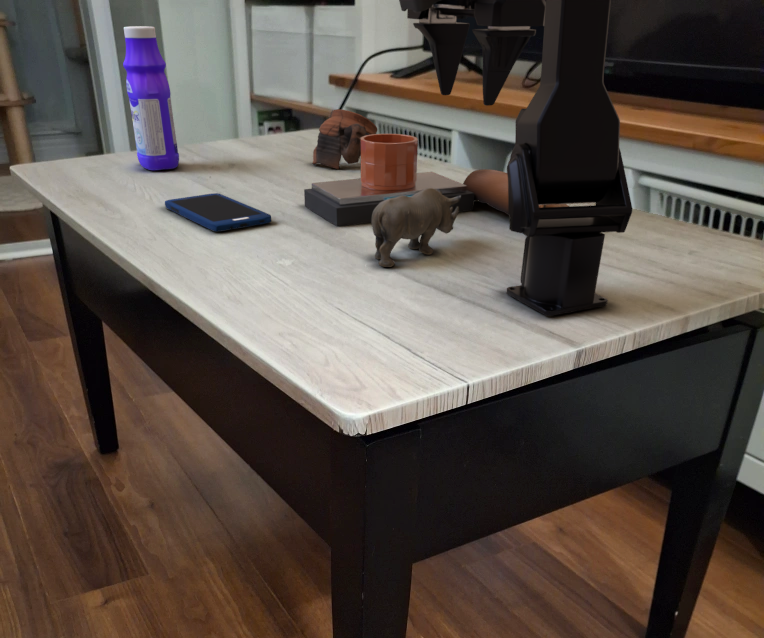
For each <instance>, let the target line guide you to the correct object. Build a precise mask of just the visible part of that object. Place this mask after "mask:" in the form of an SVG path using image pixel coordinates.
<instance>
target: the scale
mask: <svg viewBox="0 0 764 638" xmlns="http://www.w3.org/2000/svg"><path fill="white" fill-rule="evenodd" d="M426 188H433V189H435V190H438V189H440V190H441V192H442V195H444V196H445V197H447V198H454V197H457V196H459V195H461V198H460V201H459V202H457V203H455V204H453V205H451V206H450V208H451V207H453V210H452V213H453V212H454V211H455V209H456V208H457V207H459V211H458V213H461V212H462V213H464V212H471V211H472V212H473V211H474V205H475V204H474V203H475V201H474V193H473V192H470V191H468V190H466V189H467V186H466V185H464V184H463V183H462V182H459V181H457V180H455V179H452V178H449V177H446V176H443V175H441V174H440V173H436V172H433V171H425V172H417V181H416V186H415V187H413V188H410V189H405V190H394V191H386V190H374V189H369V188H366V187H363V186H362V185H361V177H360V178H351V179H340V180H339V179H338V180H330V181H329V180H328V181H320V182H319V181H318V182H311V188H304V189H303V191H304V197H303V198H304V207H305V208H307V209H308V210H310V211H312V212H313V213H314V214H316V215H318V216H319V217H321V218H323V219H324V220H326V221H327V222H329V223H330V224H332V225H333V226H336V227H344V226H345V227H346V226H352V225H363V224H369V223H370V224H372V221H371V219H372V214H373V211H374V209H375V208H376V206H377V205H378V204H379V203H381V202H382V201H384V200H387V199H390V198H395V197H398V196H407V197H411V196H413V195H414V194H416V193H418V192H420V191H422V190H424V189H426Z"/></svg>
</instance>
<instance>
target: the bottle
mask: <svg viewBox="0 0 764 638" xmlns="http://www.w3.org/2000/svg"><path fill="white" fill-rule="evenodd" d="M123 32H124V40H125V55H124V56H125V57H124V61H123V62H122V63H123V64H122V66H123V68H124V70H125V71H126V82H125V83H126V93H127V96H128V100H129V107H130V114H131V119H132V126H133V133H134V140H135V147H136V156H137V160H138V162H139V164H140V166H141V167H142V168H144V169H146V170H149V171H161V170H173V169H176V168H177V167H178V166H179V162H180V153H179V149H178V142H177V141H178V140H177V135H176V129H175V128H176V127H175V122H174V121H175V120H174V113H173V106H172V100H171V88H170V84H169V81H168V78H167V75H166V73H165V69H166V67H167V63H166V61H165V60H164V58H163V57H162V56H163V55H162V54H161V52H160V50H159V49H160V48H159V46H158V41H157V34H156V27H155V26H150V25H149V26H148V25H141V26H140V25H131V26H124V27H123Z"/></svg>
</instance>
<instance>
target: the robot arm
mask: <svg viewBox="0 0 764 638" xmlns="http://www.w3.org/2000/svg"><path fill="white" fill-rule="evenodd" d="M611 1H612V0H398V2H399V5H400V10H401V11H402V12H406V11H407V14H406V15H407V16H406V17H407V18H406V19H409V20H418V22H413V23H412V25H413V27H414V29H417V30H418V31H419V32H420V33H421V34H422V35H423V36H424V37H425V39H426V40H427V42H428V44H429V48H430V52H431V55H432V60H433V65H434V69H435V74H436V78H437V82H438V87H439V91H440V95H442V96H450V95H451V94H452V91H453V88H454V84H455V82H456V79H457V75H458V71H459V67H460V63H461V59H462V55H463V51H464V47H465V44H466V41H467V37H468V33H469V29H470V26H471V25H470V23H469V22H457V20H458V19H459V20H466V19H467V18H474V19H475V22H476V25H477V26H480V27H481V26H482V27H487V28H477V29H476V28H474V29H472V34H474V36H475V38H476V39H477V42H478V43H479V44H480V47H481V49H482V103H483V105H484V106H485V107H487V106H494V104H495V103H496V101H497V99H498V97H499V95H500V93H501V91H502V89H503V87H504V85H505V83H506V82H507V80H508V77H509V75H510V74H511V71H512V70H513V68H514V66H515V64H516V62H517V60H518V59H519V57H520V55H521V54H522V52H523V51H524V48H525V47H526V45H527V43H528V42H529V41H530V38H531V37H535V36H536V34H537V29H533V28H532V29H531V27H543V40H542V55H541V71H540V82H539V86H538V88H537V90H536V92H535V93H534V95H533V97H532V98H531V100H530V101H529V103H528V105H527V107H526V108H521V109H520V110H519V112H518V115H517V116H516V119H515V142H514V147H513V148H512V150H511V153H510V157H509V160H508V162H507V166H506V173H507V175H508V212H509V215H510V216H509V215H508V216H509V227H508V228H509V231H510V232H515V233H519V234H523V235H524V236H525V238H524V247H523V256H522V264H521V273H520V285H519V284H518V285H515V286H508V287H506V293H505V294H506V295H507V296H510V297H511V298H514V299H515V300H517V301H519V302H520V303H522V304H523V305H526V306H528V307H530V308H531V309H533V310H535V311H536V312H539V313H540V314H542V315H544V316H547V317H552V316H558V315H563V314H569V313H570V314H571V313H574V312H575V313H576V312H580V311H586V310H590V309H597V308H602V307H606V306H608V301H609V300H608V298H606V297H605V296H602V295H600V294H598V293H596V289H597V284H598V278H599V272H600V267H601V266H600V265H601V260H602V254H603V249H604V244H605V243H604V242H605V237H606V234H605V233H617V234H618V233H619V234H620V233H621V234H622V233H625V232H626V230H627V227H628V224H629V221H630V219H631V217H632V214H633V204H632V200H631V195H630V191H629V186H628V181H627V176H626V171H625V170H626V169H625V166H624V161H623V157H622V152H621V148H620V138H621V137H620V135H621V119H620V117H619V114H618V112H617V110H616V108H615V106H614V104H613V102H612V99H611V96H610V94H609V92H608V90H607V88H606V85H605V82H604V80H605V79H604V77H605V76H604V75H605V64H606V55H607V45H608V36H609V35H608V34H609V24H610V15H611V14H610V13H611V5H612V2H611ZM553 204H567V205H568V206H569V207H544V208H539V205H553ZM576 204H577V205H576ZM578 204H593V205H578ZM594 204H595V205H594ZM570 205H572V206H570ZM573 205H574V206H573Z"/></svg>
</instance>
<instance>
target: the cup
mask: <svg viewBox="0 0 764 638" xmlns="http://www.w3.org/2000/svg"><path fill="white" fill-rule="evenodd" d="M418 145H419V139H418V137H416V136H413V135H409V134H404V133H403V134H402V133H376V134H372V135H366V136H363V137H361V138H360V148H361V155H360V178H361V185H362V186H363V187H366V188H369V189H374V190H386V191H394V190H405V189H410V188H413V187H415V186H416V181H417V173H418V150H419V149H418V147H419V146H418Z"/></svg>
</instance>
